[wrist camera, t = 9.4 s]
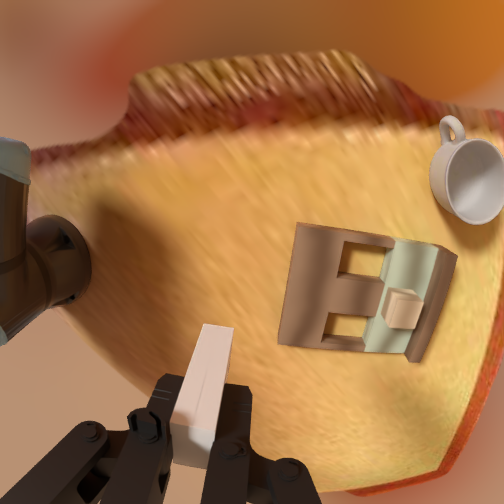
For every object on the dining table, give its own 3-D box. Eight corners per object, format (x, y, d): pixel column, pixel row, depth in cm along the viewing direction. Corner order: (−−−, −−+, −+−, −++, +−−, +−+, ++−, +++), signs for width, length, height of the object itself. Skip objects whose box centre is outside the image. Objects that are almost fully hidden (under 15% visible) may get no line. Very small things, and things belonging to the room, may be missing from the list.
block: (380, 313, 40) (389, 327, 36) (388, 287, 39) (398, 299, 35) (404, 315, 40) (414, 329, 36) (412, 289, 38) (424, 302, 35)
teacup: (482, 202, 36) (514, 212, 29) (428, 222, 38) (456, 237, 30) (461, 112, 33) (493, 106, 25) (403, 125, 35) (430, 119, 27)
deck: (277, 334, 45) (277, 354, 40) (296, 222, 39) (299, 230, 35) (409, 344, 44) (419, 362, 39) (441, 245, 39) (458, 255, 34)
